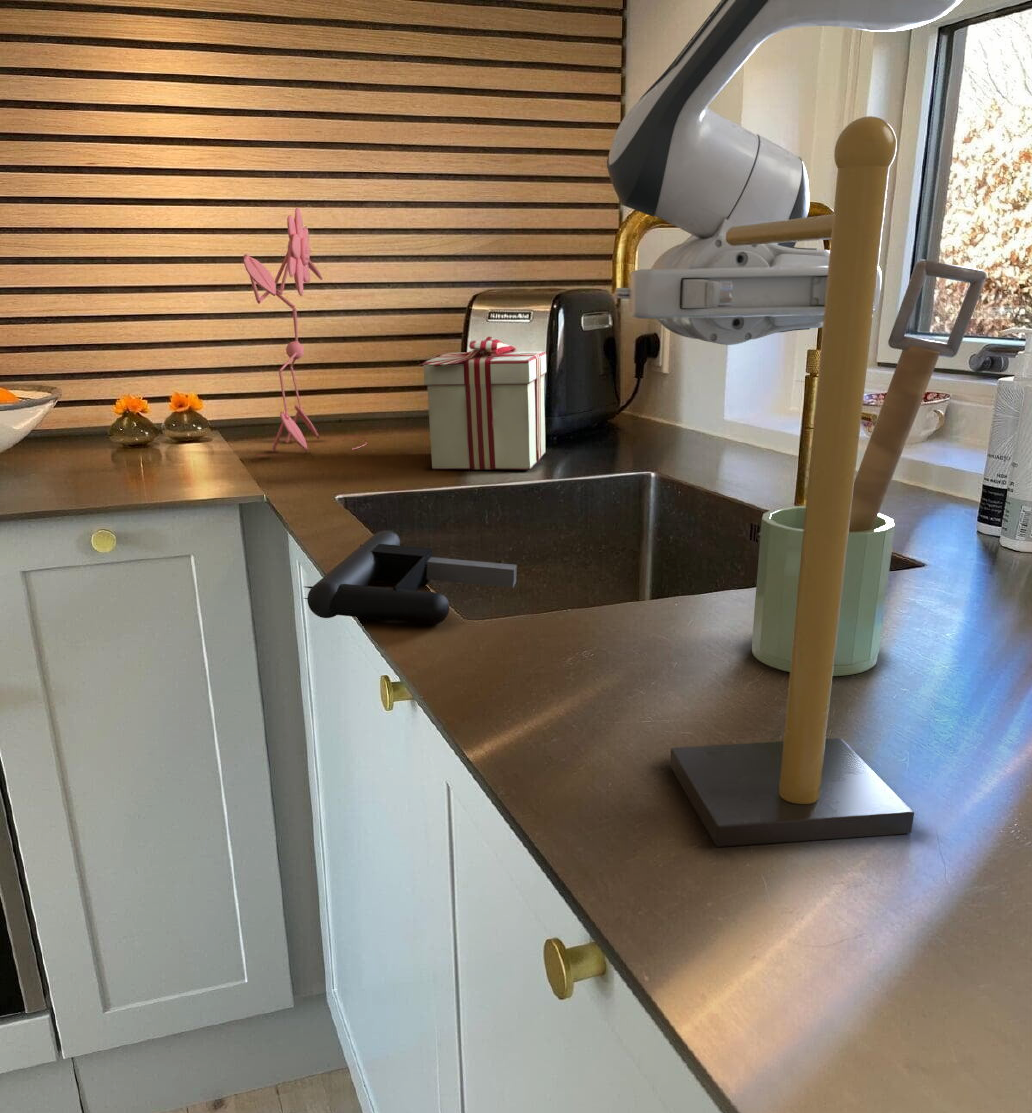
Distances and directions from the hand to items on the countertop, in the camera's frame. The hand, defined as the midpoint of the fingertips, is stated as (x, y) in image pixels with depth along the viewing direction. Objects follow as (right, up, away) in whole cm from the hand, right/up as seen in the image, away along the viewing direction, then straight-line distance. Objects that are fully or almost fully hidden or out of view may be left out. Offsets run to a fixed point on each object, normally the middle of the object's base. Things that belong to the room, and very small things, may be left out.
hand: (784, 293), depth 78 cm
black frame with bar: (-29, -21, +14) cm, 38 cm away
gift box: (-25, +3, +75) cm, 79 cm away
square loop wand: (+1, -26, -2) cm, 26 cm away
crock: (+2, -27, -2) cm, 27 cm away
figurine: (-51, +9, +90) cm, 104 cm away
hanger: (-6, -34, -18) cm, 38 cm away
